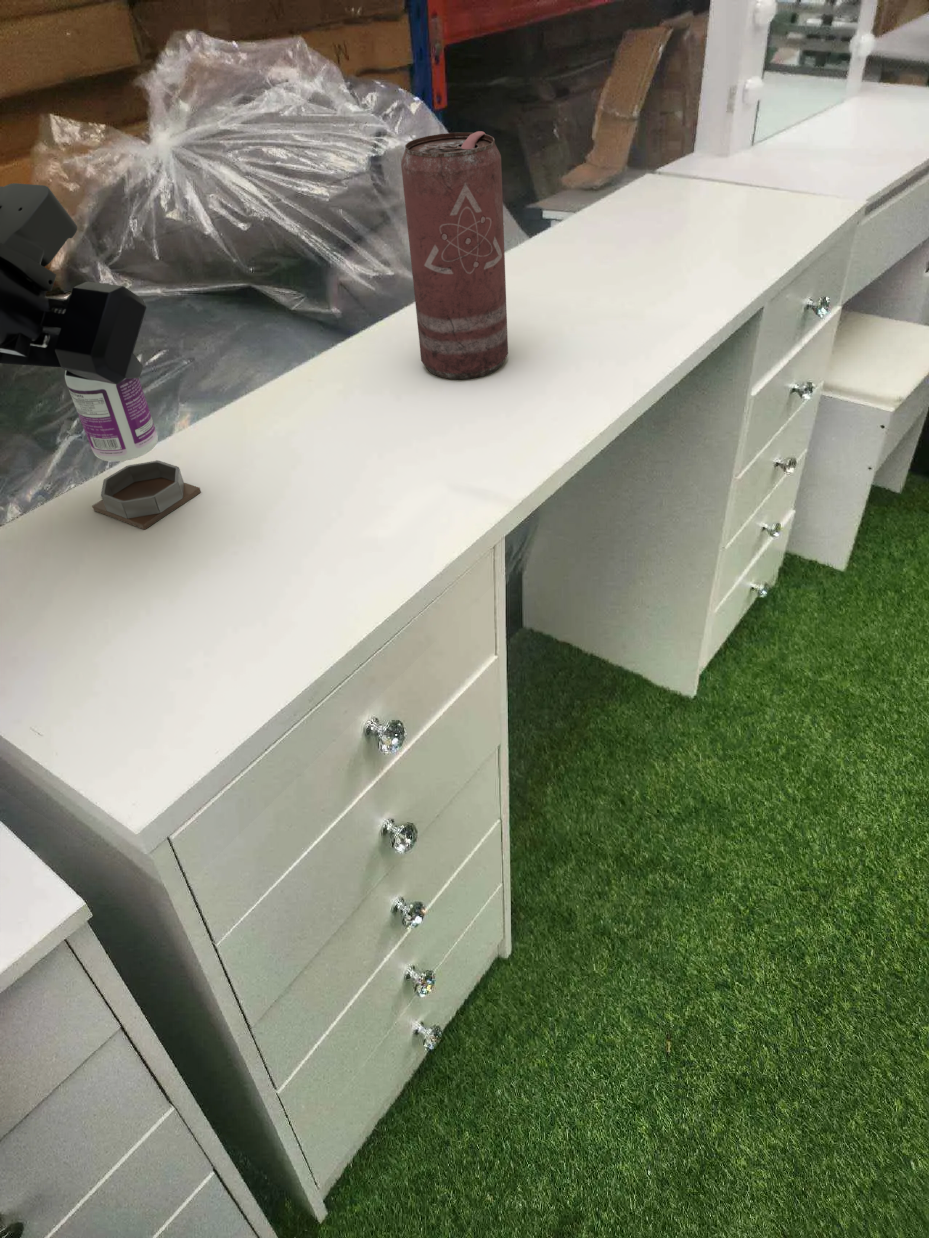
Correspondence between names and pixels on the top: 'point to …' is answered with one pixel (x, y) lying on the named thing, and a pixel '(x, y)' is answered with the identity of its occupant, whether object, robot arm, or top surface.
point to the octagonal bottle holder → (144, 493)
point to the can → (457, 252)
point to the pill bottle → (114, 417)
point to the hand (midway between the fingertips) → (113, 367)
